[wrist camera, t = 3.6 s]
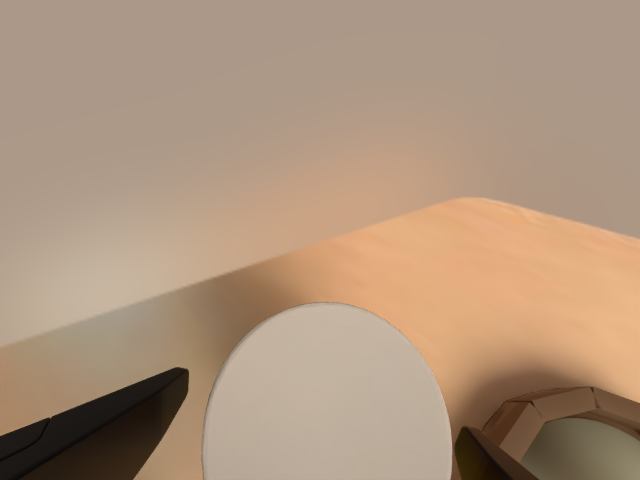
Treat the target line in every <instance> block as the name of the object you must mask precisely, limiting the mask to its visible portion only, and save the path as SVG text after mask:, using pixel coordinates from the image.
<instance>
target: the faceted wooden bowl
mask: <svg viewBox="0 0 640 480" xmlns="http://www.w3.org/2000/svg"><path fill="white" fill-rule="evenodd" d="M481 432H482V433H483V434H484V435H485V436H487V437H488V438H489V439H490V440H491V441H493V442H494V443H495V444H496V445H498V446H499V447H500V448H501V449H503V450H504V451H505V452H506V453H507V454H509V455H510V456H511V457H512V458H514V459H515V460H516V461H517V462H518V463H520V464H521V465H522V466H523V467H525V468H526V469H527V470H528V471H530V472H531V473H532V474H533V475H534V476H536V477H537V478H538V479H539V480H640V403H637V402H635V401H632V400H629V399H626V398H623V397H620V396H617V395H615V394H612V393H609V392H606V391H603V390H600V389H597V388H595V387H573V388H557V389H553V390H545V391H538V392H532V393H529V394H526V395H523V396H520V397H518V398H515V399H511V400H507V402H504V403H503V405H502V406H501V407H500V409H499V410H498V411H497V412H496V413H495V414H494V415H493V416H492V417H491V419H490V420H489V421H488V422H487V423H486V425H485V426H484V428H483V430H482V431H481Z"/></svg>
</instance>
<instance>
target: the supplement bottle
mask: <svg viewBox="0 0 640 480" xmlns="http://www.w3.org/2000/svg"><path fill="white" fill-rule="evenodd" d="M202 468H203V477H204V480H450V479H451V471H452V438H451V429H450V422H449V418H448V413H447V409H446V405H445V402H444V398H443V395H442V393H441V390H440V388H439V385H438V383H437V381H436V379H435V376H434V374H433V372H432V370H431V369H430V367H429V365H428V364H427V362H426V361H425V359H424V358H423V356H422V355H421V353H420V352H419V351H418V350H417V349H416V347H415V346H414V345H413V344H412V342H411V341H410V340H409V339H408V338H407V337H406V336H405V335H404V334H403V333H402V332H401V331H400V330H398V329H397V328H396V327H394V326H393V325H392V324H390V323H389V322H388V321H386V320H384V319H383V318H381V317H380V316H378V315H376V314H374V313H372V312H370V311H368V310H365V309H363V308H359V307H356V306H352V305H348V304H343V303H335V302H315V303H310V304H304V305H299V306H296V307H293V308H289V309H286V310H284V311H282V312H280V313H278V314H275V315H273V316H271V317H269V318H268V319H266V320H264V321H263V322H261V323H260V324H258V325H257V326H256V327H254V328H253V329H252V330H251V331H250V332H248V333H247V334H246V335H245V336H244V337H243V338H242V339H241V340H240V341H239V343H238V344H237V345H236V346H235V347H234V349H233V350H232V351H231V353H230V354H229V355H228V357H227V358H226V360H225V362H224V363H223V365H222V367H221V369H220V371H219V373H218V375H217V377H216V379H215V382H214V384H213V387H212V390H211V393H210V395H209V399H208V403H207V407H206V412H205V417H204V424H203V434H202Z"/></svg>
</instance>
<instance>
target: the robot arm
mask: <svg viewBox="0 0 640 480" xmlns="http://www.w3.org/2000/svg"><path fill="white" fill-rule="evenodd" d="M188 383H189V371H188V370H187V369H185V368H180V367H176V368H173V369H170V370H168V371H165V372H163V373H160V374H158V375H155V376H153V377H150V378H148V379H145V380H143V381H140V382H138V383H135V384H133V385H130V386H128V387H125V388H123V389H120V390H117V391H115V392H112V393H110V394H107V395H105V396H102V397H100V398H97V399H95V400H92V401H90V402H87V403H85V404H82V405H80V406H77V407H75V408H72V409H70V410H67V411H65V412H62V413H60V414H57V415H55V416H52V417H51V419H50V418H46V419H43V420H41V421H38V422H36V423H33V424H31V425H28V426H26V427H23V428H20V429H18V430H15V431H12V432H10V433H7V434H5V435H2V436H0V480H133V479H134V478H135V476H136V475H137V473H138V472H139V471H140V469H141V468H142V466H143V465H144V464H145V462H146V461H147V459H148V458H149V457H150V455H151V454H152V452H153V451H154V450H155V448H156V447H157V445H158V444H159V442H160V441H161V439H162V438H163V436H164V434H165V433H166V431H167V429H168V428H169V426H170V424H171V422H172V421H173V419H174V417H175V415H176V414H177V412H178V410H179V408H180V407H181V405H182V403H183V401H184V400H185V398H186V396H187V393H188ZM455 456H456V460H457V464H458V468H459V472H460V475H461V479H462V480H539V479H538V478H537V477H536V476H534V475H533V474H532V473H531V472H530V471H528V470H527V469H526V468H525V467H523V466H522V465H521V464H520V463H518V462H517V461H516V460H515V459H514V458H512V457H511V456H510V455H509V454H507V453H506V452H505V451H504V450H503V449H501V448H500V447H499V446H498V445H496V444H495V443H494V442H493V441H491V440H490V439H489V438H488V437H487V436H485V435H484V434H483V433H482V432H480V431H479V430H478V429H476V428H474V427H469V426H463V427H462V428H461V430H460V432H459V435H458V438H457V440H456V443H455Z"/></svg>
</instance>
